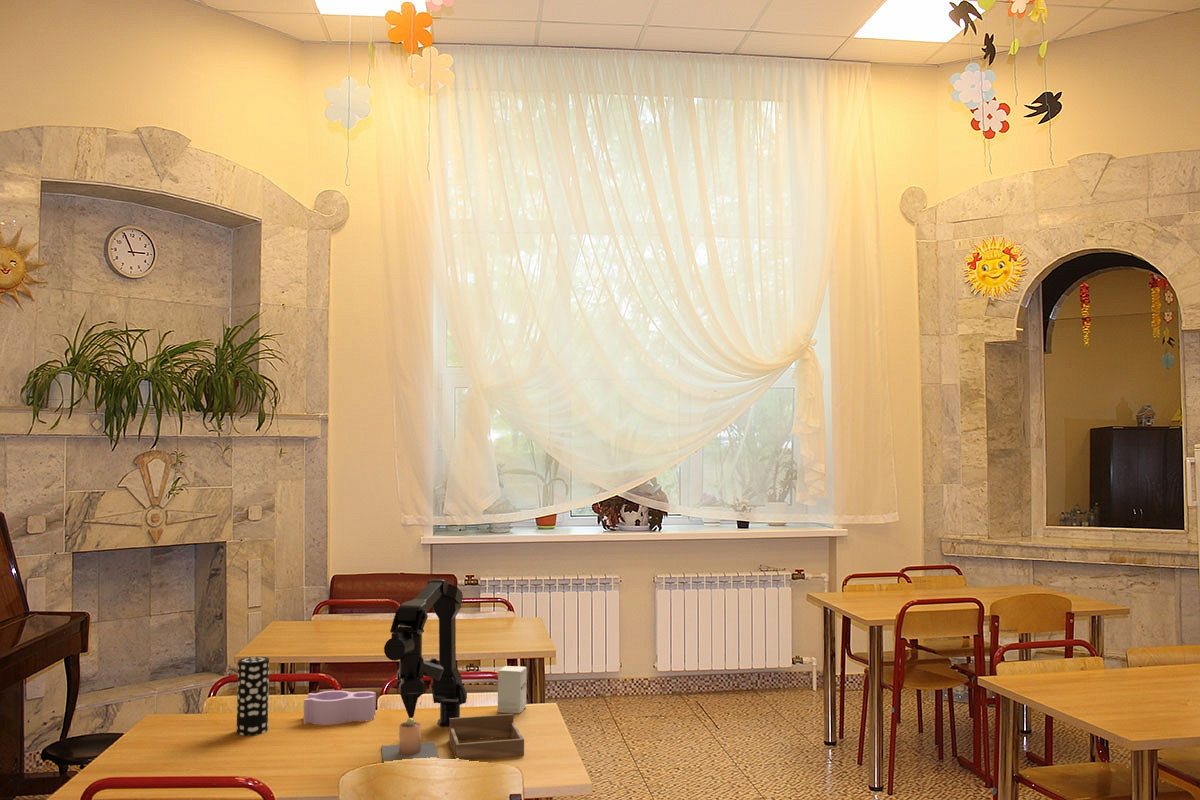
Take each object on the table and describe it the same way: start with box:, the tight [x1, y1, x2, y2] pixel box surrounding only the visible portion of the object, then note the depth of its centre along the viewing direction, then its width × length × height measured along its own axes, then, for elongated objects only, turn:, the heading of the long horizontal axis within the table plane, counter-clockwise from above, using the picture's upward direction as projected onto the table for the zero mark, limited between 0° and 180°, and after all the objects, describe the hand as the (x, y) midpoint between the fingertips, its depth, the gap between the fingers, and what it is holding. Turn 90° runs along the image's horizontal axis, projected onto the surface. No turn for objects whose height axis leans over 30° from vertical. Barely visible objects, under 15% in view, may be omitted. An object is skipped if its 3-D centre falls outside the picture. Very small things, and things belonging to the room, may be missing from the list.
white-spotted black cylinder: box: [235, 656, 270, 737], centre depth 267 cm, size 8×8×20 cm
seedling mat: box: [381, 741, 440, 763], centre depth 247 cm, size 14×14×1 cm
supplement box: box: [497, 665, 528, 714], centre depth 289 cm, size 7×7×13 cm
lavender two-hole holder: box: [303, 690, 377, 726], centre depth 280 cm, size 20×12×7 cm, turn 97°
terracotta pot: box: [398, 717, 422, 755], centre depth 247 cm, size 6×6×9 cm
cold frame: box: [448, 713, 525, 760], centre depth 252 cm, size 18×18×6 cm
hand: (410, 713), depth 247 cm, fingers open, 9 cm apart
